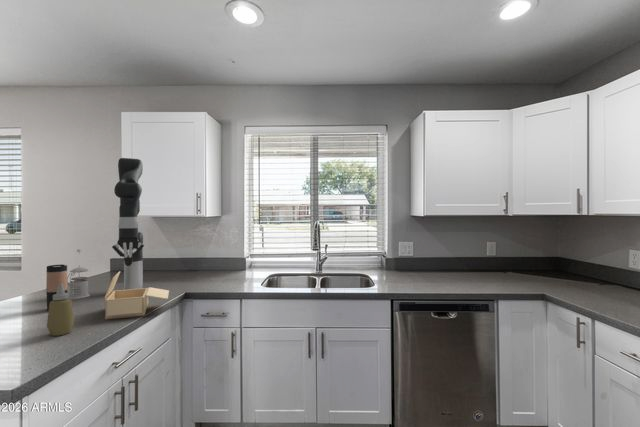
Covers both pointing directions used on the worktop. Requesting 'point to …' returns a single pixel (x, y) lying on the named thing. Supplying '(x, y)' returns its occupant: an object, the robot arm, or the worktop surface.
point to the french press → (78, 284)
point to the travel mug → (55, 280)
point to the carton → (126, 303)
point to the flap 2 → (157, 293)
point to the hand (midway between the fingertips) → (128, 265)
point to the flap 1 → (112, 284)
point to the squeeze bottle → (60, 313)
